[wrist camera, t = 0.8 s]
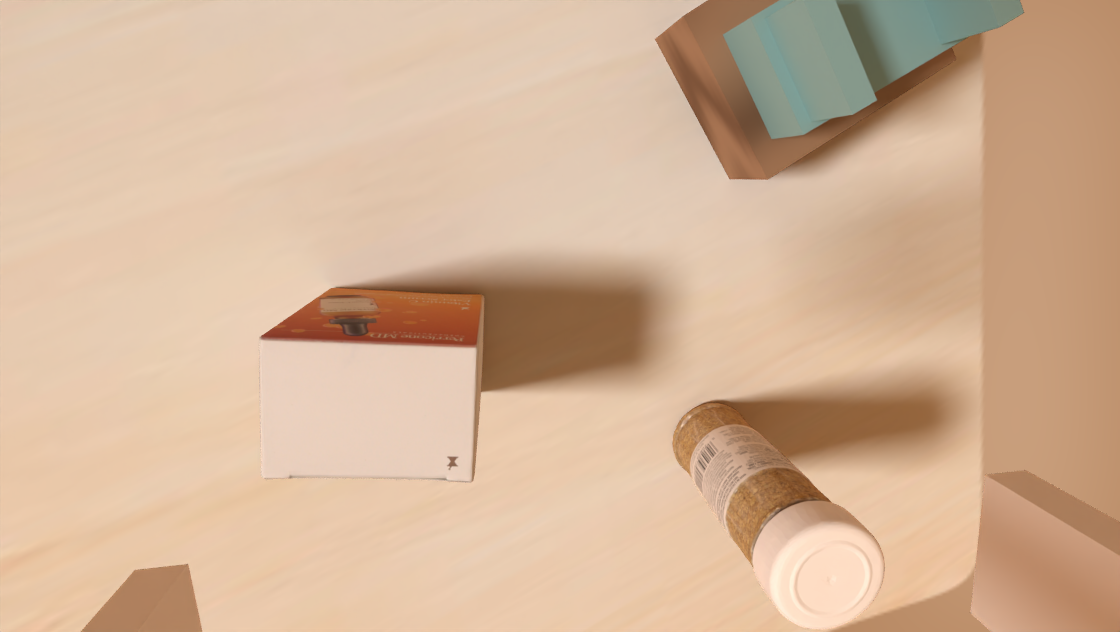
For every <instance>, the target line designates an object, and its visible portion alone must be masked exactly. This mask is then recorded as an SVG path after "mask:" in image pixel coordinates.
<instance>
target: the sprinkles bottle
mask: <svg viewBox="0 0 1120 632" xmlns="http://www.w3.org/2000/svg"><path fill="white" fill-rule="evenodd" d="M673 450H674V453H675V457H676V459H677V461H678V462H679V464H680V465H681V466H682V468H683V469H685V470H686V471H687V472H688V473H689V475H690V476H691V478H692V481H693V483H694V485H695V486H696V488H697V489H698V491H699V492H700V494H701V495H702V497H703V498H704V500H705V501H706V503H707V504H708V506H709V507H710V509H711V510H712V512H713V513H714V515H715V516H716V518H717V519H718V521H719V522H720V523H721V525H722V526H723V528H724V529H725V531H726V532H727V534H728V535H729V536H730V538H731V539H733V540H734V541H735V542H736V544H737V545H738V546H739V548H740V549H741V551H742V552H743V553H744V555H745V557H746V558H747V559H748V560H749V562H750V563H751V565H752V567H753V569H754V573H755V576H756V578H757V580H758V582H759V584H760V586H761V587H762V589H763V590H764V592H765V593H766V595H767V596H768V597H769V599H770V600H771V602H772V603H773V604H774V606H775V607H776V608H777V609H778V611H779V612H780V613H781V614H782V615H783V616H784V617H785V618H786V619H788V620H789V621H791V622H792V623H794V624H797V625H799V626H802V627H805V628H809V629H819V630H820V629H830V628H834V627H838V626H841V625H843V624H846V623H848V622H850V621H851V620H853V619H855V618H856V617H858V616H859V615H860V614H862V613H863V612H864V611H865V610H866V609H867V608H868V607H869V606H870V604H871V603H872V602H873V601H874V599H875V598H876V596H877V594H878V592H879V590H880V588H881V585H882V582H883V579H884V571H885V564H884V557H883V553H882V550H881V548H880V546H879V544H878V542H877V540H876V539H875V538H874V536H873V535H872V534H871V533H870V532H869V531H868V530H867V529H866V528H865V527H864V526H863V525H862V524H861V523H860V522H859V521H858V520H857V519H856V518H855V517H854V516H853V515H851V514H850V513H849V512H848V511H847V510H846V509H844V508H842V507H841V506H839V505H836V504H834V503H832V502H831V501H830V500H829V499H828V498H827V497H825V496H824V495H823V494H822V493H821V492H820V491H819V490H818V489H817V488H816V487H815V486H814V485H813V484H812V483H811V482H810V480H809V479H808V478H807V477H806V476H805V475H804V474H803V473H802V472H801V471H799V470H798V469H797V468H796V467H795V466H794V465H793V464H792V463H791V462H790V461H789V460H788V459H787V458H786V457H784V456H783V455H782V454H781V453H780V452H779V451H778V450H777V449H776V448H775V447H774V446H773V445H772V444H771V443H770V442H768V441H767V440H766V439H765V438H764V437H763V436H762V435H761V434H760V433H759V432H757V431H756V430H754V429H753V428H752V427H751V426H750V425H748V424H747V423H746V421H745V419H744V418H743V417H742V416H741V414H740V413H739V412H738V411H737V410H735V409H733V408H731V407H730V406H728V405H724V404H721V403H707V404H703V405H700V406H698V407H696V408H694V409H692V410H691V411H690V412H688V413H687V414H686V415H684V416H683V418H682V419H681V420H680V422H679V423H678V425H677V428H676V430H675V432H674V436H673Z"/></svg>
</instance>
